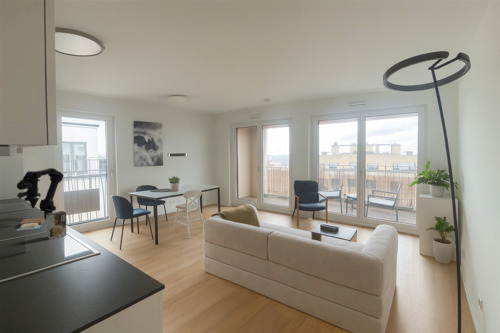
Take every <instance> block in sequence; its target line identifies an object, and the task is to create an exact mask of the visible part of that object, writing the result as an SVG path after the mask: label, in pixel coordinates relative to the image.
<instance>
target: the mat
mask: <svg viewBox="0 0 500 333" xmlns="http://www.w3.org/2000/svg"><path fill="white" fill-rule="evenodd" d="M41 227H42V225H38V226H37V227H36V228H29V229H21V227H18V228H17V229H16V232H20V231H27V230H29V231H30V230H38V229H40V228H41Z"/></svg>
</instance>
